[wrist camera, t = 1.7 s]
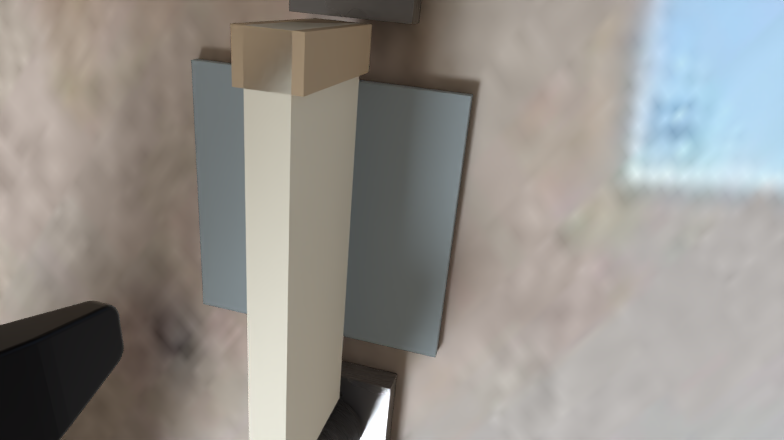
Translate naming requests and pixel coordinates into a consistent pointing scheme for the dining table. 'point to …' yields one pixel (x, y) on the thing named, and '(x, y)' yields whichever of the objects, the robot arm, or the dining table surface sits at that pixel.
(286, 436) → the gate
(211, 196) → the doorway mat
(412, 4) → the gate posts
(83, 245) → the dining table surface
